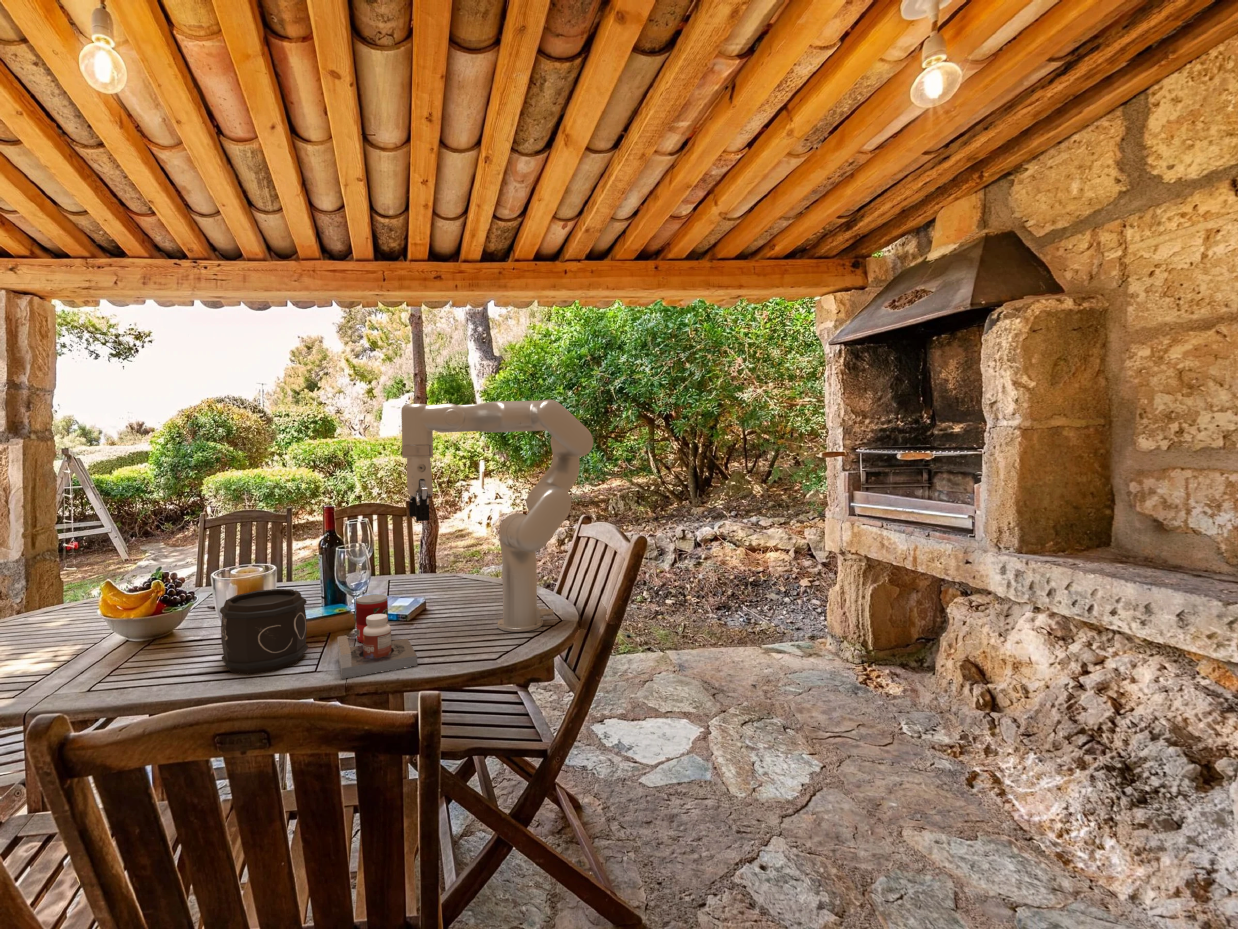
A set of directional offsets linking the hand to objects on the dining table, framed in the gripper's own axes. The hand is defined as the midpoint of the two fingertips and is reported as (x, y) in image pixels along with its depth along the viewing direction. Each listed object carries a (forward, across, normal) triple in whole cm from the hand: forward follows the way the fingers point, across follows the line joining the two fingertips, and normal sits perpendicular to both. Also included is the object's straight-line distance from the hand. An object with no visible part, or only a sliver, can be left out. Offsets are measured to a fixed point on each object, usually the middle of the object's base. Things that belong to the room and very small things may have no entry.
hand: (419, 518), depth 157 cm
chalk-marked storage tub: (+33, +4, +35) cm, 48 cm away
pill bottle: (+32, -10, +12) cm, 36 cm away
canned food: (+32, +9, +11) cm, 35 cm away
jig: (+32, -10, +12) cm, 36 cm away
